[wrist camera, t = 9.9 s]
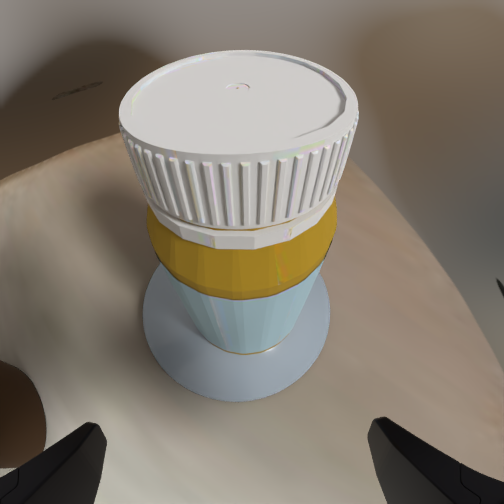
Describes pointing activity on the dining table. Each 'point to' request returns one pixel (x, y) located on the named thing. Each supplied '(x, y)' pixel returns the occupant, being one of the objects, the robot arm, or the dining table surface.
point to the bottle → (240, 184)
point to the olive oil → (19, 418)
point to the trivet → (223, 363)
